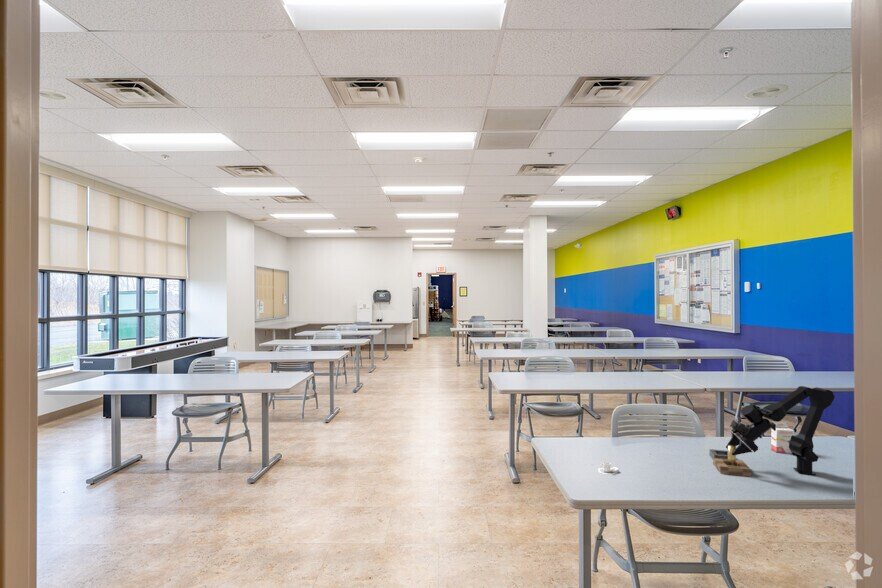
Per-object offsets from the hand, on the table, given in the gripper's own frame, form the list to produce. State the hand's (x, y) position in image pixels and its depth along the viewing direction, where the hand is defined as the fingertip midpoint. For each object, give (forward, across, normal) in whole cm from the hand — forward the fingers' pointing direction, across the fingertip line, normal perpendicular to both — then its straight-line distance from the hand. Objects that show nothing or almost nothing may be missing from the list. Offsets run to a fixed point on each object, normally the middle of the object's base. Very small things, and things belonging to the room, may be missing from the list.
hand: (729, 451), depth 217 cm
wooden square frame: (+5, 0, +7) cm, 9 cm away
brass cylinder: (+5, 0, +7) cm, 9 cm away
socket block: (+5, -15, +7) cm, 17 cm away
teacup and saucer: (+43, +21, -30) cm, 56 cm away
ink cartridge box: (-18, -37, +30) cm, 51 cm away
